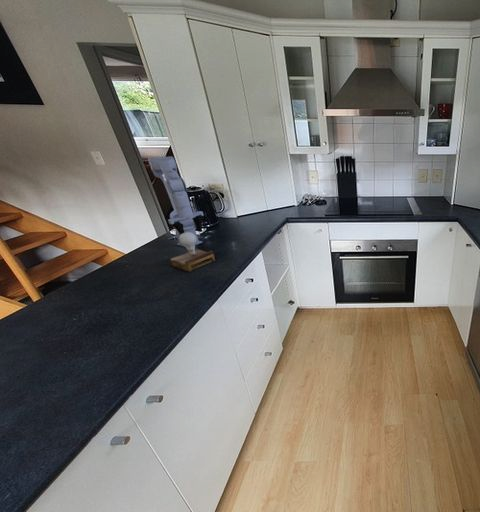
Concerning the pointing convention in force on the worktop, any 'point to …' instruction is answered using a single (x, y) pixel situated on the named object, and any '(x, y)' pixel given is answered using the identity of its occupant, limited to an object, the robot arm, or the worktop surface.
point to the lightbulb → (188, 242)
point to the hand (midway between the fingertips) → (191, 234)
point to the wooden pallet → (193, 260)
